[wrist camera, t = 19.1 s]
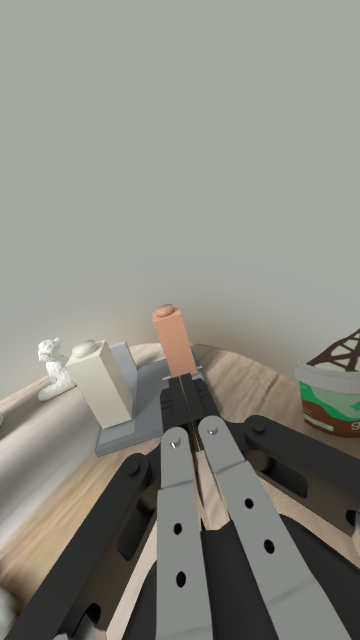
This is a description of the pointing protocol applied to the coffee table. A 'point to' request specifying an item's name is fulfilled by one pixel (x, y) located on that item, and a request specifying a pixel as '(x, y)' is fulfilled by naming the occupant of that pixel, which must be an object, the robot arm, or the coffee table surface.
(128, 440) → the grey holder stand
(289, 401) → the coffee table surface
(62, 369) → the sitting furry creature
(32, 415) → the coffee table surface
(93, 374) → the cream plug
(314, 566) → the robot arm
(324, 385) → the food container
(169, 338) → the terracotta plug
